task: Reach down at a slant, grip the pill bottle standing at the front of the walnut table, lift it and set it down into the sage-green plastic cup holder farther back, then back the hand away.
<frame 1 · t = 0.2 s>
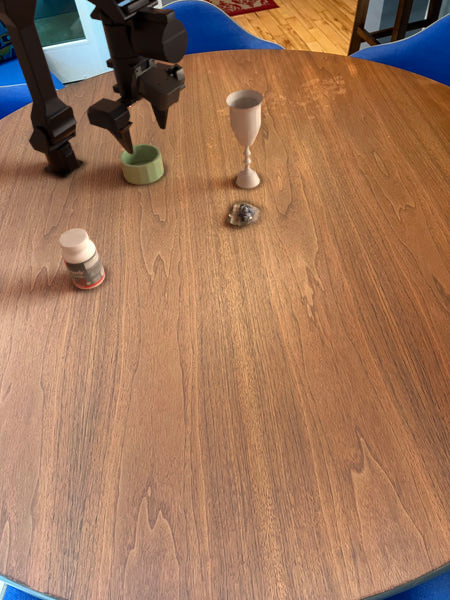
hand: (147, 140, 87), 15 cm above the table, tool pointing down, fingers open, 9 cm apart
chalice: (247, 182, 101), on the table
cup holder: (144, 172, 106), on the table
grey flat irregular piece: (243, 216, 94), on the table
pill bottle: (90, 279, 86), on the table
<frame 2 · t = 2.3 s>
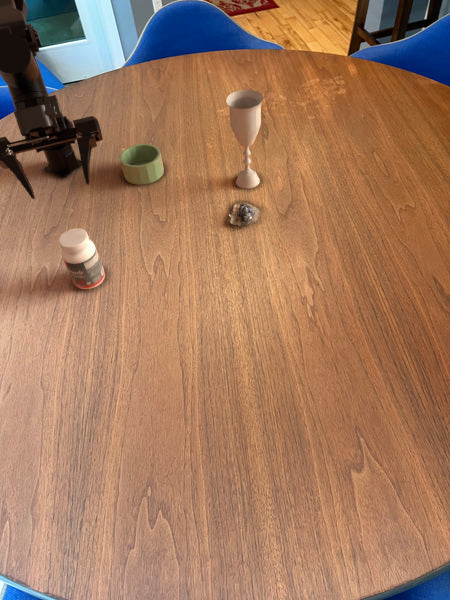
hand: (61, 191, 81), 13 cm above the table, tool tilted 45°, fingers open, 9 cm apart
nothing on the table moved.
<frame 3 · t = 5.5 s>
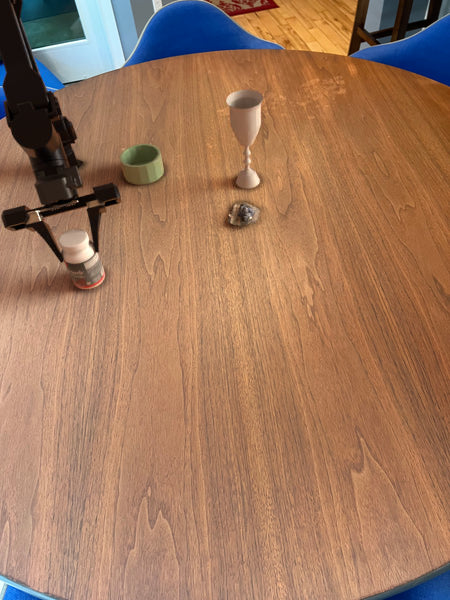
hand: (79, 257, 80), 7 cm above the table, tool tilted 45°, fingers closed on pill bottle, 6 cm apart
pill bottle: (90, 279, 86), on the table, touching gripper
everything else where it was.
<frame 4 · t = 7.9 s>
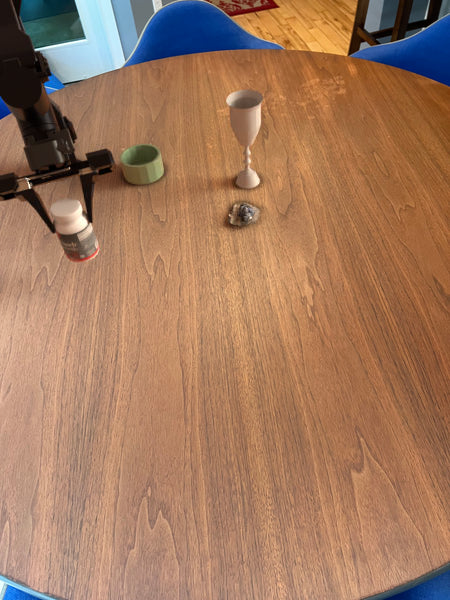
hand: (72, 228, 76), 12 cm above the table, tool tilted 45°, fingers closed on pill bottle, 6 cm apart
pill bottle: (83, 253, 82), point 6 cm above the table, touching gripper
everything else where it was.
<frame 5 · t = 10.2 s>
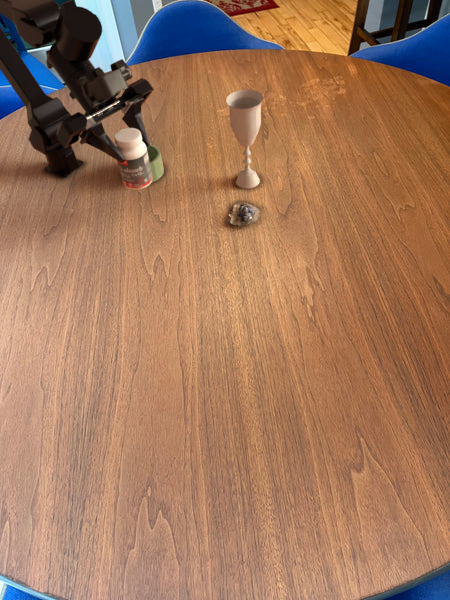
hand: (136, 154, 85), 14 cm above the table, tool tilted 45°, fingers closed on pill bottle, 6 cm apart
pill bottle: (138, 182, 91), point 7 cm above the table, touching gripper
everything else where it was.
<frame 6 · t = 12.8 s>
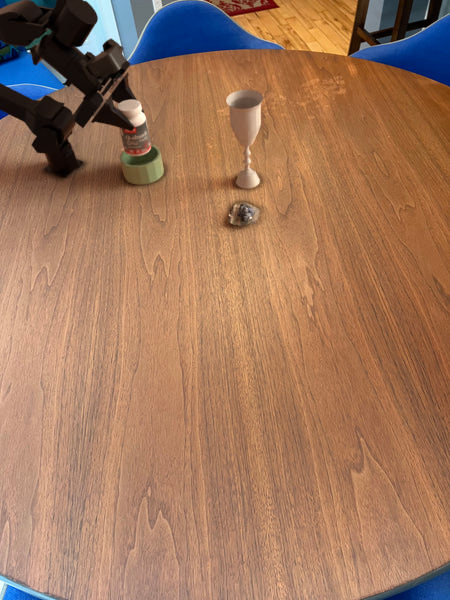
hand: (138, 121, 96), 12 cm above the table, tool tilted 45°, fingers closed on pill bottle, 6 cm apart
pill bottle: (138, 150, 102), point 6 cm above the table, touching gripper
everything else where it was.
when the fingers open (7 cm above the table, at t = 14.9 s): pill bottle stays where it is, resting on cup holder.
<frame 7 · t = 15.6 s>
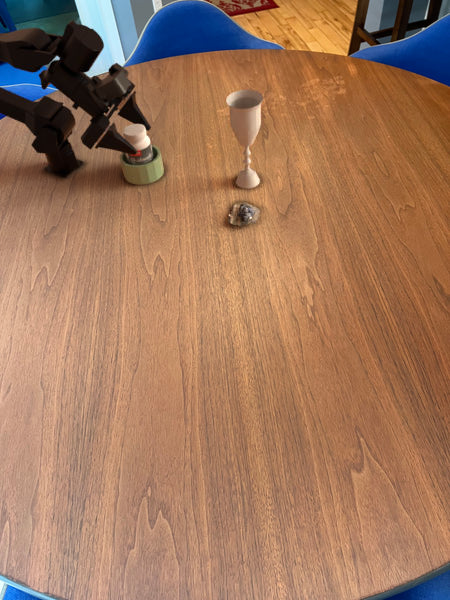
hand: (143, 140, 100), 8 cm above the table, tool tilted 45°, fingers open, 9 cm apart
pill bottle: (143, 171, 106), resting on cup holder
everything else where it was.
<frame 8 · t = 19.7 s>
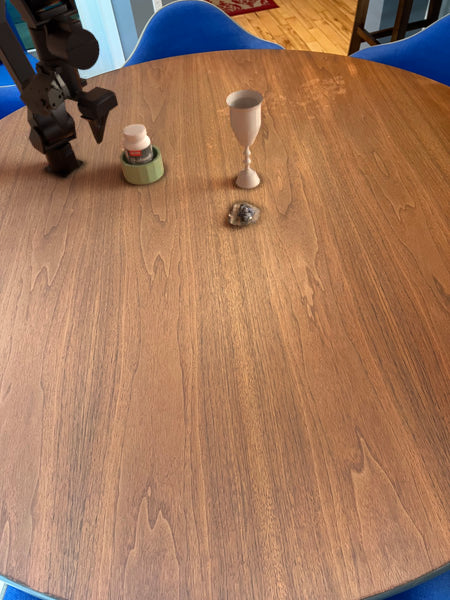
hand: (82, 137, 92), 13 cm above the table, tool pointing down, fingers open, 9 cm apart
nothing on the table moved.
at the end: pill bottle 0.1 cm off-centre in the cup holder, point 0.3 cm above the cup holder's base; pill bottle tilted 0°; the gripper is holding nothing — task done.
